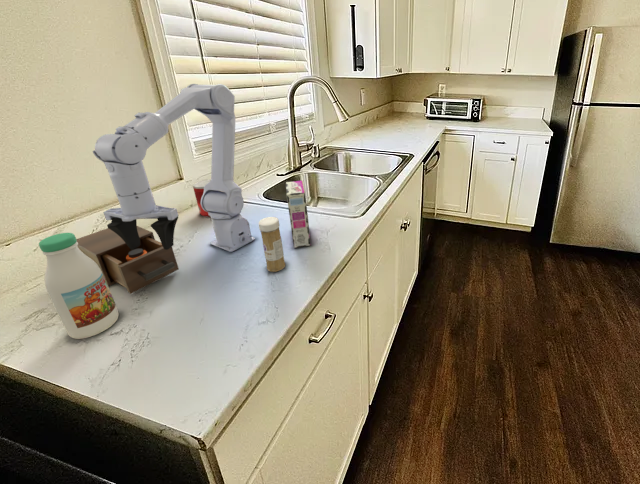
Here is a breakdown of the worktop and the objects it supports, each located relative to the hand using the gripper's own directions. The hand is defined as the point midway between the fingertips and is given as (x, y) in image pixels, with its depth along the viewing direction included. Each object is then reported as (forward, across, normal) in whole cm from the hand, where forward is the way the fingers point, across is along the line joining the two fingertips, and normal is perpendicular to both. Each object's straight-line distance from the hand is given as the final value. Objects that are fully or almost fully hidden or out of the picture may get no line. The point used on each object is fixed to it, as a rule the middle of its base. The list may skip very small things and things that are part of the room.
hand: (152, 247), depth 73 cm
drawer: (+10, -6, +2) cm, 12 cm away
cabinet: (+10, -16, +8) cm, 21 cm away
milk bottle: (+11, -6, -12) cm, 17 cm away
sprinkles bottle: (+11, +24, +7) cm, 27 cm away
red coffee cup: (+11, -11, +40) cm, 43 cm away
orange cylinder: (+9, -7, +3) cm, 12 cm away
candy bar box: (+11, +26, +22) cm, 36 cm away
